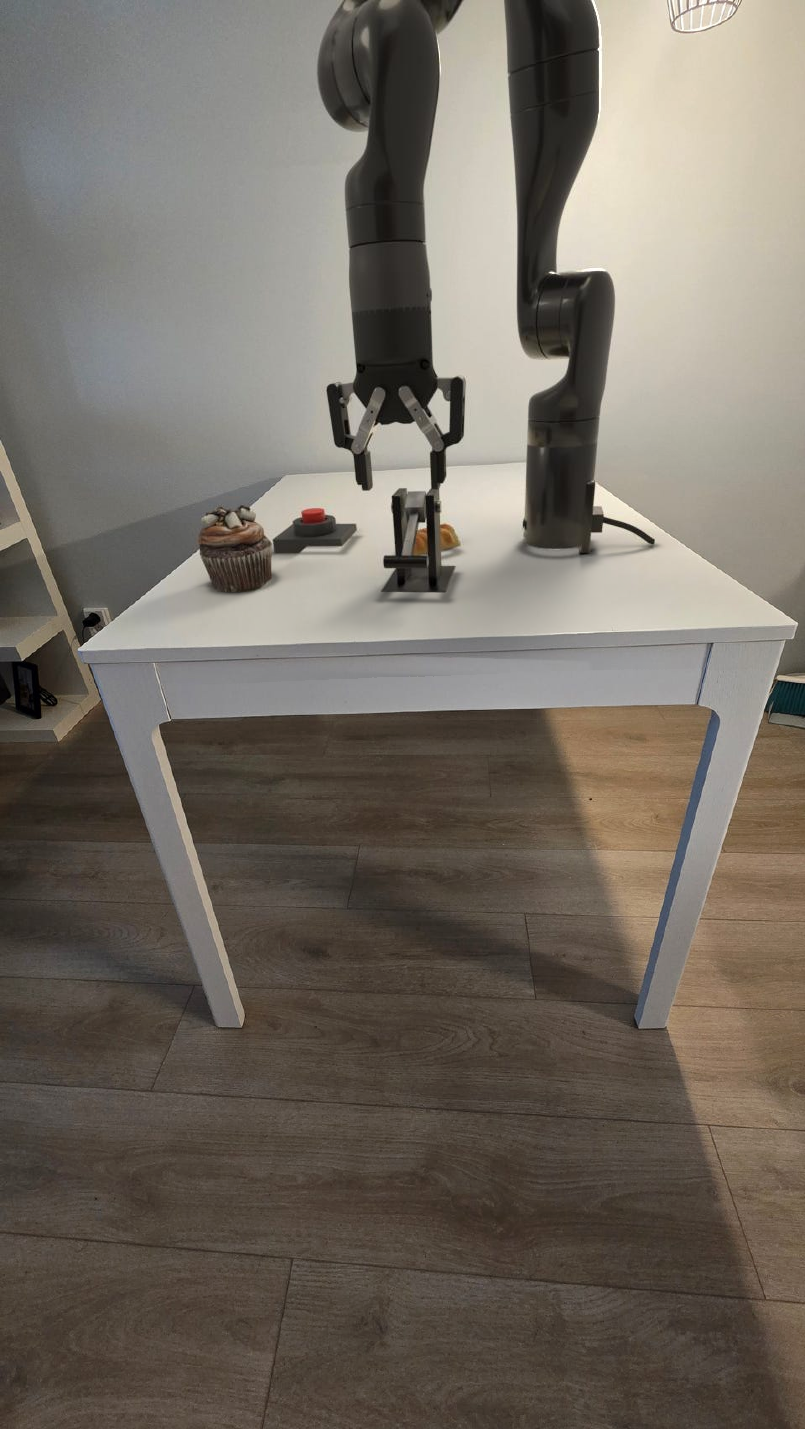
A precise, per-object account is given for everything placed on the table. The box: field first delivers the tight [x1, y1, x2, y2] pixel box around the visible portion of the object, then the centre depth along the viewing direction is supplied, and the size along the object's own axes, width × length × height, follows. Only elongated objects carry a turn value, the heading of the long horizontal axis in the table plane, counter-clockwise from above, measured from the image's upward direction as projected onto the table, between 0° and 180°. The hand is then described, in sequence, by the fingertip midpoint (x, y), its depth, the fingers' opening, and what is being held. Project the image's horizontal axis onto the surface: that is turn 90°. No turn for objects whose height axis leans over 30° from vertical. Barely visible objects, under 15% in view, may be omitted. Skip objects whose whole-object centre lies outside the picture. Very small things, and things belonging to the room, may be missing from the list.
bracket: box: [380, 487, 457, 593], centre depth 79 cm, size 10×8×12 cm
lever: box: [382, 490, 429, 569], centre depth 75 cm, size 11×5×2 cm, turn 170°
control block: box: [272, 514, 358, 554], centre depth 101 cm, size 11×9×4 cm
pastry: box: [413, 523, 461, 555], centre depth 93 cm, size 9×7×4 cm
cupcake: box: [197, 504, 273, 593], centre depth 86 cm, size 10×10×10 cm
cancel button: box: [300, 507, 326, 523], centre depth 100 cm, size 4×4×2 cm
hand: (401, 488), depth 69 cm, fingers open, 7 cm apart
